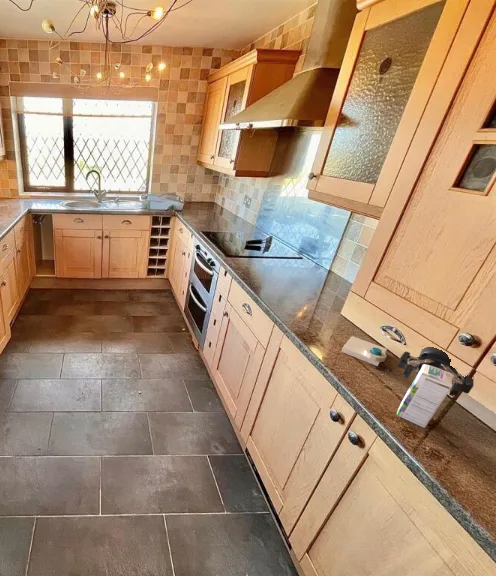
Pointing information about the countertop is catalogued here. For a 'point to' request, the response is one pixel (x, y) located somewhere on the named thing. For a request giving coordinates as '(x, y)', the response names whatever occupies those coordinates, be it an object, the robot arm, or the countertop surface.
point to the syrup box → (425, 395)
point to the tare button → (376, 351)
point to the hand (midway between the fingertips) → (429, 383)
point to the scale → (364, 350)
